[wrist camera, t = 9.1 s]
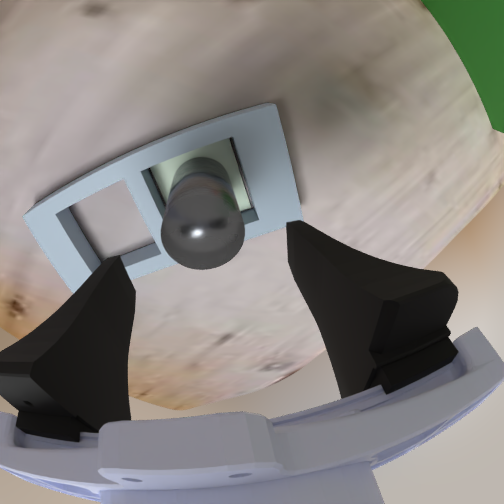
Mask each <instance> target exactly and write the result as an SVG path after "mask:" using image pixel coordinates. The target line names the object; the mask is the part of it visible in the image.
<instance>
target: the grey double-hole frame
mask: <svg viewBox="0 0 504 504" xmlns="http://www.w3.org/2000/svg"><path fill="white" fill-rule="evenodd" d="M230 137H232V140H233V143H234V146H235V149H236V152H237V156H238V159H239V162H240V165H241V168H242V171H243V175H244V178H245V181H246V184H247V187H248V190H249V194H250V197H251V200H252V203H253V207H254V208H252V209H249V210H246V211H243V212H241V215H242V218H243V222H244V225H245V238H244V241H245V240H248V239H251V238H254V237H257V236H260V235H263V234H266V233H269V232H272V231H275V230H278V229H281V228H284V227H286V222H291V221H296V220H301V221H303V216H302V211H301V206H300V201H299V197H298V192H297V188H296V183H295V179H294V174H293V170H292V166H291V161H290V157H289V153H288V149H287V145H286V141H285V137H284V133H283V129H282V125H281V121H280V117H279V114H278V110H277V106H276V104H272V103H265V104H261V105H257V106H253V107H250V108H246V109H243V110H239V111H236V112H233V113H230V114H226V115H223V116H220V117H217V118H214V119H211V120H208V121H205V122H202V123H199V124H196V125H194V126H191V127H188V128H186V129H183V130H180V131H178V132H175V133H172V134H170V135H167V136H165V137H163V138H160V139H158V140H155V141H153V142H151V143H148V144H146V145H144V146H141V147H139V148H137V149H135V150H133V151H130V152H128V153H126V154H124V155H122V156H120V157H118V158H116V159H114V160H112V161H110V162H108V163H106V164H104V165H102V166H100V167H98V168H96V169H94V170H92V171H90V172H88V173H86V174H85V175H83V176H81V177H79V178H77V179H76V180H74V181H72V182H70V183H69V184H67V185H65V186H64V187H62V188H60V189H59V190H57V191H55V192H54V193H52V194H50V195H49V196H47V197H46V198H44V199H42V200H41V201H39V202H38V203H36V204H35V205H33V206H32V207H31V208H30V209H29V210H28V211H27V212H26V213H25V214H24V215H23V216H22V217H23V219H24V220H25V222H26V224H27V226H28V227H29V229H30V231H31V232H32V234H33V236H34V237H35V239H36V241H37V242H38V244H39V245H40V247H41V248H42V250H43V252H44V253H45V255H46V256H47V258H48V259H49V261H50V262H51V264H52V265H53V266H54V268H55V269H56V271H57V272H58V274H59V275H60V276H61V278H62V279H63V281H64V282H65V283H66V285H67V286H68V287H69V289H70V290H71V291H72V293H73V294H74V293H75V292H76V291H77V289H78V288H79V287H80V286H81V285H82V284H83V283H84V282H85V281H86V280H87V279H88V277H89V276H90V275H91V274H92V273H93V272H94V271H95V270H96V269H97V268H98V267H99V266H100V265H101V264H102V263H101V261H100V260H99V258H98V257H97V255H96V254H95V252H94V251H93V249H92V247H91V246H90V244H89V242H88V241H87V239H86V237H85V236H84V234H83V232H82V231H81V229H80V227H79V226H78V224H77V222H76V220H75V219H74V217H73V215H72V213H71V211H70V210H69V208H68V207H69V206H71V205H73V204H74V203H76V202H78V201H80V200H82V199H84V198H86V197H88V196H90V195H92V194H94V193H95V192H97V191H99V190H101V189H103V188H106V187H108V186H110V185H112V184H114V183H116V182H118V181H120V180H122V179H124V180H125V182H126V184H127V187H128V189H129V191H130V193H131V195H132V197H133V199H134V201H135V203H136V205H137V207H138V209H139V211H140V213H141V215H142V217H143V219H144V221H145V223H146V225H147V227H148V229H149V231H150V233H151V235H152V237H153V238H154V240H155V242H156V243H153V244H151V245H148V246H145V247H143V248H140V249H137V250H135V251H132V252H130V253H127V254H125V255H122V256H120V257H121V259H122V262H123V264H124V266H125V269H126V271H127V273H128V275H129V278H130V280H132V279H135V278H138V277H141V276H144V275H146V274H149V273H152V272H155V271H158V270H161V269H164V268H166V267H169V266H172V265H175V264H178V263H177V262H176V261H174V260H173V259H172V258H171V257H170V256H169V255H168V253H167V252H166V250H165V249H164V247H163V244H162V241H161V225H162V221H163V217H164V212H165V208H166V207H165V205H164V203H163V200H162V198H161V196H160V194H159V192H158V189H157V187H156V185H155V183H154V180H153V178H152V176H151V174H150V171H149V169H148V168H149V167H150V168H151V171H152V173H153V175H154V178H155V180H156V182H157V184H158V187H159V189H160V191H161V193H162V196H163V198H164V200H165V202H166V204H167V200H168V196H169V192H170V188H171V184H172V181H173V177H174V174H175V172H176V171H177V169H178V168H179V167H180V166H181V165H182V164H183V163H184V162H186V161H188V160H190V159H192V158H196V157H207V158H211V159H214V160H216V161H218V162H219V163H221V164H222V165H223V166H224V168H225V169H226V171H227V172H228V175H229V178H230V181H231V184H232V187H233V190H234V193H235V197H236V200H237V203H238V206H239V209H240V211H242V210H245V209H248V208H251V206H250V203H249V199H248V196H247V193H246V190H245V187H244V184H243V180H242V177H241V174H240V171H239V168H238V165H237V162H236V159H235V155H234V152H233V149H232V146H231V143H230V140H229V138H230Z"/></svg>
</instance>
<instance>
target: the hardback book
mask: <svg viewBox="0 0 504 504" xmlns="http://www.w3.org/2000/svg"><path fill="white" fill-rule="evenodd" d="M421 1H422V2H423V3H424V5H425V6H426V7H427V9H428V10H429V11H430V12H431V14H432V15H433V17H434V18H435V19H436V21H437V22H438V24H439V25H440V26H441V28H442V29H443V31H444V32H445V34H446V35H447V37H448V39H449V40H450V42H451V43H452V45H453V47H454V48H455V50H456V52H457V53H458V55H459V57H460V59H461V60H462V62H463V64H464V66H465V68H466V69H467V71H468V73H469V75H470V77H471V79H472V81H473V83H474V85H475V87H476V89H477V92H478V94H479V96H480V98H481V100H482V103H483V105H484V107H485V110H486V112H487V115H488V117H489V120H490V122H491V125H492V128H493V129H495V130H497V131H500V132H502V133H504V0H421Z"/></svg>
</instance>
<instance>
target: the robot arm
mask: <svg viewBox="0 0 504 504" xmlns="http://www.w3.org/2000/svg"><path fill="white" fill-rule="evenodd" d="M286 230H287V249H288V263H289V266H290V269H291V272H292V274H293V277H294V280H295V282H296V284H297V286H298V288H299V290H300V292H301V293H302V295H303V297H304V299H305V301H306V303H307V305H308V307H309V309H310V311H311V313H312V314H313V316H314V318H315V320H316V323H317V325H318V327H319V330H320V332H321V335H322V338H323V341H324V343H325V346H326V349H327V352H328V355H329V358H330V361H331V364H332V367H333V370H334V373H335V377H336V380H337V383H338V387H339V391H340V394H341V398H342V399H340V400H337V401H334V402H331V403H328V404H325V405H322V406H318V407H315V408H311V409H307V410H304V411H300V412H297V413H293V414H288V415H285V416H281V417H276V418H272V419H267V418H266V417H265V416H263V415H261V414H256V413H249V412H243V411H242V412H228V413H216V414H209V415H201V416H192V417H183V418H171V419H156V420H136V421H135V420H134V421H132V420H131V414H130V406H129V395H128V353H129V346H130V339H131V333H132V327H133V320H134V314H135V300H136V291H135V289H134V286H133V284H132V282H131V280H130V278H129V275H128V273H127V271H126V269H125V266H124V264H123V262H122V259H121V257H120V255H119V256H114V257H110V258H107V259H106V260H105V261H104V262H103V263H102V264H101V265H100V266H99V267H98V268H97V269H96V270H95V271H94V272H93V273H92V274H91V275H90V276H89V277H88V279H87V280H86V281H85V282H84V283H83V284H82V285H81V286H80V287H79V288H78V289H77V291H76V292H75V293H74V294H73V295H72V296H71V297H70V298H69V299H68V300H67V301H66V302H65V303H64V304H63V305H62V306H61V307H60V308H59V309H58V310H57V311H56V312H55V313H54V314H53V315H52V316H50V317H49V318H48V319H47V320H46V321H44V322H43V323H42V324H41V325H39V326H38V327H37V328H36V329H35V330H33V331H32V332H30V333H29V334H28V335H26V336H25V337H23V338H22V339H20V340H19V341H18V342H16V343H14V344H13V345H11V346H9V347H7V348H6V349H4V350H2V351H1V352H0V395H1V396H2V397H3V398H4V399H5V400H7V401H8V402H9V403H10V404H11V405H12V406H14V407H15V408H16V409H17V410H19V412H18V417H17V416H15V415H13V414H10V413H6V412H1V411H0V468H2V469H4V470H5V471H8V472H9V473H11V474H13V475H15V476H17V477H19V478H21V479H23V480H25V481H28V482H30V483H33V484H36V485H39V486H42V487H45V488H48V489H51V490H55V491H58V492H61V493H65V494H68V495H72V496H76V497H80V498H84V499H88V500H93V501H98V502H101V504H385V503H384V501H383V498H382V496H381V493H380V490H379V487H378V485H377V483H376V480H375V477H374V474H373V472H372V470H373V469H375V468H378V467H380V466H382V465H384V464H386V463H388V462H391V461H393V460H394V459H396V458H398V457H400V456H402V455H404V454H406V453H408V452H409V451H411V450H413V449H415V448H417V447H418V446H420V445H422V444H424V443H425V442H427V441H428V440H430V439H432V438H433V437H435V436H437V435H438V434H440V433H441V432H443V431H444V430H446V429H447V428H448V427H450V426H452V425H453V424H455V423H456V422H458V421H459V420H460V419H462V418H463V417H465V416H466V415H467V414H469V413H470V412H471V411H473V410H474V409H475V408H477V407H478V406H479V405H480V404H481V403H482V402H483V401H484V400H485V399H486V398H487V397H488V396H490V394H492V392H493V391H494V390H495V389H496V388H497V387H498V386H499V385H500V384H501V383H502V382H503V381H504V362H503V361H502V360H501V358H500V357H499V355H498V354H497V352H496V351H495V350H494V348H493V347H492V346H491V344H490V343H489V341H488V340H487V339H486V337H485V336H484V335H483V334H482V332H481V331H480V330H479V328H478V327H475V328H473V329H471V330H470V331H468V332H466V333H464V334H463V335H461V336H459V337H458V338H457V339H456V340H455V341H454V342H453V343H452V342H451V340H450V339H449V337H448V336H450V334H451V332H450V330H449V329H448V328H447V326H446V324H447V323H448V321H449V319H450V317H451V314H452V313H453V310H454V308H455V306H456V303H457V300H458V289H457V287H456V286H455V285H454V284H453V283H452V282H451V280H450V279H449V278H448V277H447V276H446V275H445V274H444V273H443V272H439V271H431V270H424V269H417V268H413V267H408V266H403V265H399V264H395V263H392V262H388V261H385V260H382V259H379V258H376V257H373V256H370V255H368V254H365V253H363V252H360V251H358V250H356V249H353V248H351V247H349V246H347V245H345V244H343V243H341V242H339V241H337V240H335V239H333V238H332V237H330V236H328V235H326V234H324V233H323V232H321V231H319V230H317V229H316V228H314V227H312V226H311V225H309V224H307V223H305V222H303V221H301V220H296V221H291V222H286Z"/></svg>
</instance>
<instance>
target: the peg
mask: <svg viewBox="0 0 504 504" xmlns="http://www.w3.org/2000/svg"><path fill="white" fill-rule="evenodd" d="M244 238H245V225H244V222H243V218H242V215H241V212H240V209H239V206H238V203H237V200H236V197H235V193H234V190H233V187H232V184H231V181H230V178H229V175H228V172H227V171H226V169H225V168H224V166H223V165H222V164H221V163H219V162H218V161H216V160H214V159H211V158H207V157H196V158H192V159H190V160H188V161H186V162H184V163H183V164H182V165H181V166H180V167H179V168H178V169H177V171H176V172H175V174H174V177H173V181H172V184H171V188H170V192H169V196H168V200H167V204H166V208H165V212H164V217H163V221H162V225H161V241H162V244H163V247H164V249H165V250H166V252H167V253H168V255H169V256H170V257H171V258H172V259H173V260H174V261H176V262H177V263H179V264H181V265H183V266H185V267H188V268H192V269H200V270H204V269H212V268H216V267H219V266H221V265H223V264H225V263H227V262H228V261H230V260H231V259H232V258H233V257H235V255H236V254H237V253H238V252H239V250H240V249H241V247H242V245H243V242H244Z"/></svg>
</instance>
